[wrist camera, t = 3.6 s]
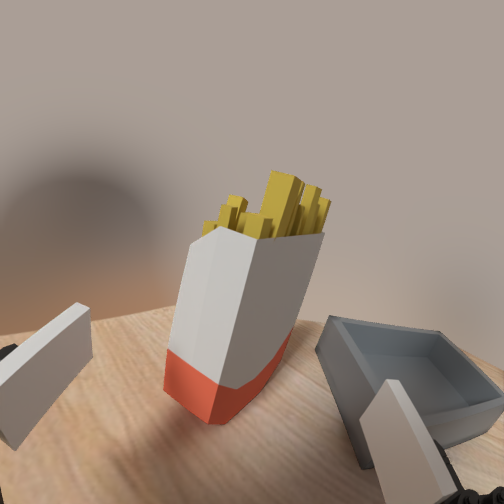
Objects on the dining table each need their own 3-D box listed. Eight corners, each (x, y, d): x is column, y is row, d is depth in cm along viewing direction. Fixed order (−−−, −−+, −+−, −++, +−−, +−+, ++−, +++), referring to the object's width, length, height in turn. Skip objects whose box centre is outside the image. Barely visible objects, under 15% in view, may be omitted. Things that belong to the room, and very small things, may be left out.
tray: (425, 358, 34) (439, 331, 33) (486, 432, 16) (511, 400, 15) (314, 349, 32) (329, 315, 31) (361, 469, 14) (396, 432, 13)
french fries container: (158, 407, 17) (198, 153, 13) (235, 358, 27) (285, 180, 22) (203, 443, 15) (277, 168, 11) (273, 379, 25) (336, 195, 20)
